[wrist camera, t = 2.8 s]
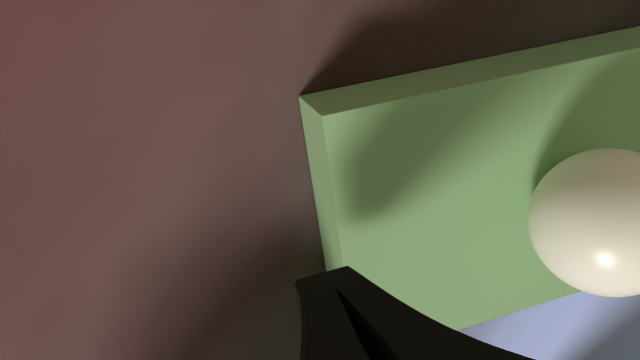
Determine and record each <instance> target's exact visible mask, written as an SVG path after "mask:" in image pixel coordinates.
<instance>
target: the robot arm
mask: <svg viewBox="0 0 640 360" xmlns="http://www.w3.org/2000/svg"><path fill="white" fill-rule="evenodd" d="M294 286H295V291H296V296H297V301H298V307H299V312H300V317H301V323H302V342H301V354H300V360H535V359H532V358H528V357H525V356H522V355H519V354H516V353H513V352H510V351H507V350H504V349H501V348H498V347H495V346H492V345H490V344H487V343H485V342H482V341H479V340H477V339H475V338H472V337H470V336H468V335H465V334H463V333H461V332H458V331H456V330H454V329H452V328H450V327H447V326H445V325H443V324H441V323H439V322H437V321H435V320H434V319H432V318H430V317H428V316H426V315H424V314H422V313H420V312H419V311H417V310H415V309H413V308H412V307H410V306H408V305H407V304H405V303H404V302H402V301H400V300H399V299H397V298H395V297H394V296H392V295H391V294H389V293H388V292H386V291H385V290H383V289H382V288H380V287H379V286H377V285H376V284H374V283H373V282H371V281H370V280H368V279H367V278H365V277H364V276H363V275H361V274H360V273H358V272H357V271H355V270H354V269H352V268H351V267H349V266H344V267H341V268H337V269H333V270H330V271H326V272H323V273H319V274H316V275H312V276H308V277H305V278H301V279H298V280H297V282H296V283H295V285H294Z"/></svg>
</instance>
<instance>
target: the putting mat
mask: <svg viewBox="0 0 640 360" xmlns="http://www.w3.org/2000/svg"><path fill="white" fill-rule="evenodd" d="M299 102H300V109H301V115H302V121H303V128H304V134H305V140H306V147H307V153H308V159H309V166H310V172H311V178H312V185H313V191H314V197H315V204H316V210H317V216H318V223H319V229H320V235H321V241H322V248H323V254H324V260H325V267H326V271H330V270H333V269H337V268H341V267H344V266H349V267H351V268H352V269H354V270H355V271H357V272H358V273H360V274H361V275H363V276H364V277H365V278H367V279H368V280H370V281H371V282H373V283H374V284H376V285H377V286H379V287H380V288H382V289H383V290H385V291H386V292H388V293H389V294H391V295H392V296H394V297H395V298H397V299H399V300H400V301H402V302H404V303H405V304H407V305H408V306H410V307H412V308H413V309H415V310H417V311H419V312H420V313H422V314H424V315H426V316H428V317H430V318H432V319H434V320H435V321H437V322H439V323H441V324H443V325H445V326H447V327H450V328H452V329H454V330H456V331H457V330H461V329H464V328H467V327H470V326H473V325H476V324H479V323H482V322H486V321H489V320H492V319H495V318H498V317H501V316H504V315H507V314H511V313H514V312H517V311H520V310H523V309H526V308H529V307H532V306H536V305H539V304H542V303H545V302H548V301H551V300H554V299H557V298H561V297H564V296H567V295H570V294H573V293H576V292H579V291H581V290H579V289H577V288H574V287H572V286H570V285H569V284H567V283H565V282H564V281H562V280H561V279H559V278H558V277H557V276H556V275H555V274H553V273H552V272H551V271H550V270H549V269H548V268H547V267H546V265H545V264H544V263H543V262H542V260H541V259H540V258H539V256H538V254H537V252H536V251H535V249H534V247H533V244H532V241H531V238H530V235H529V230H528V210H529V205H530V201H531V198H532V195H533V193H534V191H535V189H536V187H537V185H538V184H539V182H540V181H541V179H542V178H543V177H544V176H545V175H546V174H547V173H548V172H549V171H550V170H551V169H552V168H553V167H555V166H556V165H557V164H558V163H560V162H561V161H563V160H565V159H567V158H569V157H571V156H573V155H575V154H578V153H581V152H584V151H589V150H594V149H603V148H617V149H625V150H631V151H635V152H638V153H640V26H637V27H632V28H627V29H622V30H617V31H613V32H608V33H603V34H598V35H593V36H588V37H583V38H579V39H574V40H569V41H564V42H559V43H554V44H549V45H544V46H540V47H535V48H530V49H525V50H520V51H515V52H510V53H505V54H501V55H496V56H491V57H486V58H481V59H476V60H471V61H467V62H462V63H457V64H452V65H447V66H442V67H437V68H432V69H428V70H423V71H418V72H413V73H408V74H403V75H398V76H393V77H389V78H384V79H379V80H374V81H369V82H364V83H359V84H355V85H350V86H345V87H340V88H335V89H330V90H325V91H320V92H316V93H311V94H306V95H301V96H299Z"/></svg>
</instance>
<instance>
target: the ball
mask: <svg viewBox="0 0 640 360" xmlns="http://www.w3.org/2000/svg"><path fill="white" fill-rule="evenodd" d="M528 230H529V235H530V238H531V241H532V244H533V247H534V249H535V251H536V252H537V254H538V256H539V258H540V259H541V260H542V262H543V263H544V264H545V265H546V267H547V268H548V269H549V270H550V271H551V272H552V273H553V274H555V275H556V276H557V277H558V278H559V279H561V280H562V281H564V282H565V283H567V284H569V285H570V286H572V287H574V288H577V289H579V290H581V291H584V292H587V293H591V294H594V295H600V296H607V297H627V296H633V295H639V294H640V153H638V152H635V151H631V150H625V149H617V148H603V149H594V150H589V151H584V152H581V153H578V154H575V155H573V156H571V157H569V158H567V159H565V160H563V161H561V162H560V163H558V164H557V165H556V166H555V167H553V168H552V169H551V170H550V171H549V172H548V173H547V174H546V175H545V176H544V177H543V178H542V179H541V181H540V182H539V184H538V185H537V187H536V189H535V191H534V193H533V195H532V198H531V201H530V205H529V210H528Z"/></svg>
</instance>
